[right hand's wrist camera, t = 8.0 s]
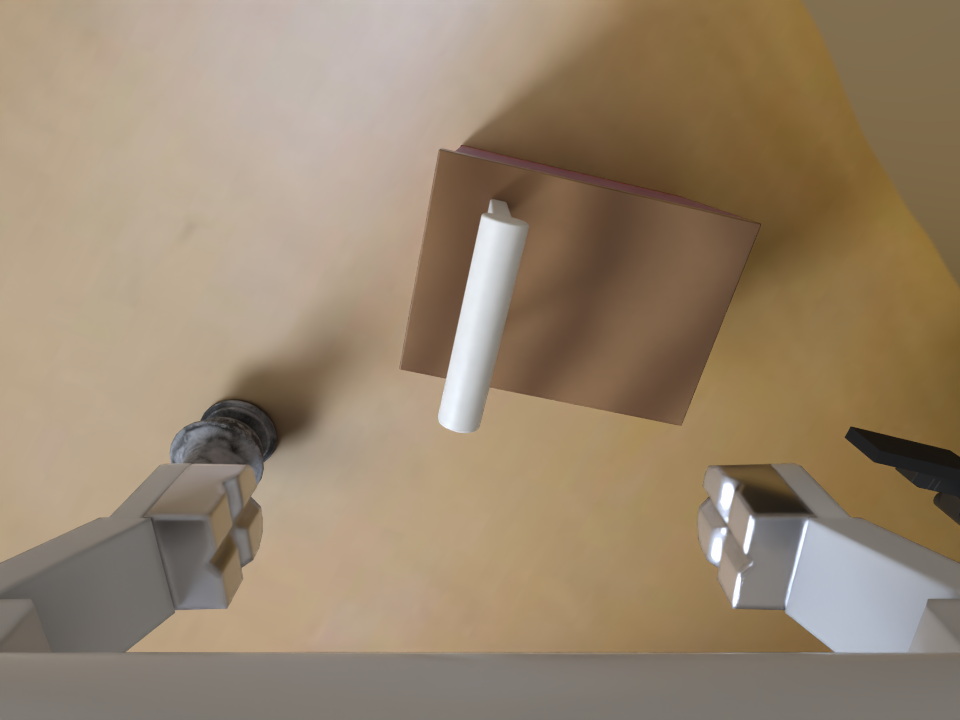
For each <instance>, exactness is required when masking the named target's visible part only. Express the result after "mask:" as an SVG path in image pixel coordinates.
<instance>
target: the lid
mask: <svg viewBox="0 0 960 720" xmlns="http://www.w3.org/2000/svg"><path fill="white" fill-rule="evenodd" d="M760 226H761V224H760V223H757V222H754V221H751V220H747V219H743V218H739V217H735V216H730V215H726V214H722V213H717V212H713V211H709V210H705V209H700V208H696V207H692V206H687V205H683V204H679V203H674V202H670V201H666V200H662V199H657V198H653V197H649V196H644V195H640V194H636V193H632V192H627V191H623V190H619V189H614V188H610V187H606V186H602V185H597V184H593V183H589V182H584V181H580V180H576V179H571V178H567V177H563V176H559V175H554V174H550V173H546V172H541V171H537V170H533V169H529V168H524V167H520V166H516V165H511V164H507V163H503V162H499V161H494V160H490V159H486V158H481V157H477V156H473V155H468V154H464V153H460V152H456V151H451V150H447V149H443V148H442V149H440V150H439V153H438V158H437V164H436V169H435V175H434V180H433V186H432V191H431V197H430V202H429V208H428V213H427V219H426V224H425V230H424V235H423V241H422V246H421V252H420V257H419V263H418V269H417V274H416V280H415V285H414V291H413V296H412V302H411V307H410V313H409V318H408V324H407V329H406V335H405V340H404V346H403V351H402V357H401V362H400V369H401V370H406V371H411V372H416V373H421V374H426V375H431V376H436V377H441V378H446V382H445V387H444V391H443V396H442V401H441V405H440V410H439V414H438V420H439V422H440V424H441V425H443V426H444V427H445V428H447V429H449V430H452V431H455V432H460V433H470V432H474V431H476V430H477V429H478V428H479V426H480V423H481V419H482V415H483V411H484V406H485V402H486V398H487V394H488V390H489V387H491V388H496V389H501V390H506V391H511V392H516V393H521V394H526V395H531V396H536V397H541V398H546V399H550V400H555V401H560V402H565V403H570V404H575V405H580V406H585V407H590V408H595V409H600V410H605V411H610V412H615V413H620V414H625V415H630V416H635V417H640V418H645V419H650V420H655V421H660V422H665V423H670V424H675V425H680V426H681V425H682V423H683V420H684V417H685V415H686V412H687V410H688V407H689V405H690V402H691V400H692V397H693V395H694V392H695V390H696V387H697V385H698V382H699V380H700V377H701V375H702V372H703V370H704V367H705V365H706V362H707V360H708V357H709V355H710V352H711V349H712V347H713V344H714V342H715V339H716V337H717V334H718V332H719V329H720V327H721V324H722V322H723V319H724V317H725V314H726V312H727V309H728V307H729V304H730V302H731V299H732V297H733V294H734V292H735V289H736V286H737V284H738V281H739V279H740V276H741V274H742V271H743V269H744V266H745V264H746V261H747V259H748V256H749V254H750V251H751V249H752V246H753V244H754V241H755V239H756V236H757V234H758V231H759V229H760Z"/></svg>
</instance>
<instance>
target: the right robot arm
mask: <svg viewBox="0 0 960 720" xmlns="http://www.w3.org/2000/svg"><path fill="white" fill-rule="evenodd" d="M256 487H257V482H256V477H255V473H254V469H253V468H252V467H251V466H250V465H236V464H191V463H178V464H163V465H160V466H159V467H158V468H157V469H156V470H155V471H154V472H153V473H152V474H151V475H150V476H149V477H148V478H147V479H146V480H145V481H144V482H143V483H142V484H141V485H140V486H139V487H138V488H137V489H136V490H135V491H134V492H133V493H132V494H131V495H130V496H129V497H128V498H127V499H126V501H125V502H124V503H123V504H122V505H121V506H120V507H119V508H118V509H117V510H116V511H115V512H114V513H113V514H112V515H111V516H110V517H109V518H98V519H96V520H93V521H91V522H89V523H87V524H85V525H82V526H80V527H78V528H76V529H74V530H72V531H69V532H67V533H65V534H63V535H61V536H58V537H56V538H54V539H52V540H50V541H47V542H45V543H43V544H41V545H39V546H37V547H34V548H32V549H30V550H28V551H26V552H23V553H21V554H19V555H17V556H15V557H12V558H10V559H8V560H6V561H4V562H2V563H0V720H960V563H958V562H956V561H954V560H952V559H949V558H947V557H945V556H943V555H941V554H939V553H936V552H934V551H932V550H930V549H928V548H926V547H923V546H921V545H919V544H917V543H915V542H912V541H910V540H908V539H906V538H904V537H902V536H899V535H897V534H895V533H893V532H891V531H888V530H886V529H884V528H882V527H880V526H878V525H875V524H873V523H871V522H869V521H867V520H864V519H862V518H851V517H850V516H849V515H848V514H847V513H846V512H845V511H844V510H843V509H842V508H841V507H840V506H839V505H838V504H837V503H836V501H835V500H834V499H833V498H832V497H831V496H830V495H829V494H828V493H827V492H826V491H825V490H824V489H823V488H822V487H821V486H820V485H819V484H818V483H817V482H816V481H815V480H814V479H813V478H812V477H811V476H810V475H809V474H808V473H807V472H806V471H805V469H804V468H803V467H802V466H800V465H797V464H795V463H782V464H756V465H716V466H708V468H707V471H706V473H705V476H704V482H703V487H704V489H705V490H706V492H707V494H708V495H709V497H708V498H707V499H706V500H705V501H704V502H703V503H702V504H701V505H700V506H699V511H698V519H697V529H698V539H699V542H700V546H701V549H702V551H703V553H704V555H705V557H706V559H707V560H708V561H709V562H711V563H712V564H714V565H715V566H717V567H718V568H719V570H718V576H717V580H718V582H719V584H720V585H721V587H722V589H723V591H724V593H725V595H726V597H727V598H728V600H729V602H730V604H731V606H732V608H733V609H768V610H785V613H786V614H788V615H789V616H790V617H791V618H793V619H794V620H795V621H796V622H798V623H799V624H800V625H801V626H803V627H804V628H805V629H806V630H808V631H809V632H810V633H811V634H813V635H814V636H815V637H816V638H818V639H819V640H820V641H822V642H823V643H824V644H825V645H827V646H828V647H829V648H830V649H832V650H833V651H834V652H126V651H127V650H129V649H130V648H131V647H132V646H134V645H135V644H136V643H137V642H139V641H140V640H141V639H142V638H144V637H145V636H146V635H147V634H149V633H150V632H151V631H152V630H154V629H155V628H156V627H158V626H159V625H160V624H161V623H163V622H164V621H165V620H166V619H168V618H169V617H170V616H171V615H173V614H174V613H175V610H192V609H227V608H228V606H229V604H230V602H231V600H232V599H233V597H234V595H235V593H236V591H237V589H238V587H239V585H240V584H241V582H242V580H243V576H242V570H241V568H242V567H243V566H245V565H246V564H248V563H249V562H251V561H252V560H253V559H254V557H255V555H256V553H257V551H258V549H259V546H260V541H261V537H262V532H263V517H262V511H261V506H260V505H259V504H258V503H257V502H256V501H255V500H254V499H253V498H252V497H251V495H252V494H253V492H254V490H255V489H256Z"/></svg>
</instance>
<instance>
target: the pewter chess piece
mask: <svg viewBox="0 0 960 720" xmlns="http://www.w3.org/2000/svg"><path fill="white" fill-rule="evenodd" d="M276 442H277V436H276V430H275V428H274V425H273V423H272V421H271V420H270V419H269V417H268V416H267V415H266V414H265V413H264V412H263V411H262V410H261V409H259V408H257V407H256V406H254V405H252V404H250V403H247V402H243V401H238V400H227V401H222V402H219V403H217V404H215V405H213V406H211V407H210V408H209V409H208V410H207V411H206V412H205V413H204V415H203V417H202V418H201V421H198V422H194V423H192V424H190V425H188V426H186V427H184V428H183V429H182V430H181V431H180V432H179V433H178V434H177V435H176V436H175V438H174V440H173V442H172V444H171V449H170V458H171V464H178V463H191V464H236V465H250V466H251V467H252V468H253V469H254V473H255V477H256V482H257V485H258V483H259V482H260V480H261V478H262V474H263V470H264V465H263V462H265V461H266V460H267V459H268V458H269V457H270V456H271V454H272V453H273V451H274V450H275V446H276Z"/></svg>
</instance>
